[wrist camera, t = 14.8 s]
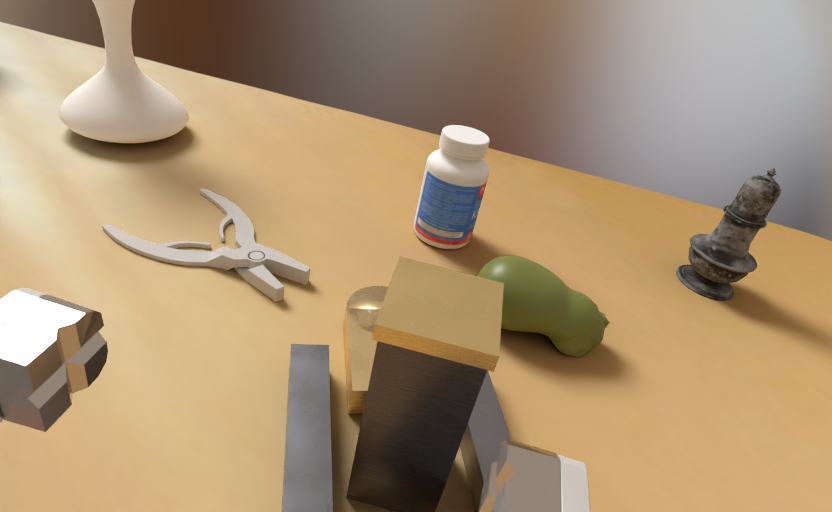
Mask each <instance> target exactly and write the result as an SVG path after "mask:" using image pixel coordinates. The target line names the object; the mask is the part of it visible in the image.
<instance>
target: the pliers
mask: <svg viewBox="0 0 832 512" xmlns="http://www.w3.org/2000/svg"><path fill="white" fill-rule="evenodd" d="M200 194H201V195H203V196H204V197H206V198H207V199H209V200H210V201H211V202H213V203H214V204H215V205H216V206H218V207H219V208H220V209H221V210H222V211H223V212H224V213H225V214H226V215H227V216H226V217H225V218H224V219H223V220H222V221H221V224H220V226H219V236H220V240H221V242H225V238H224V234H223V230H224V228H225V226H227V225H228V224H229V223H231V222H232V223H233V225H234V227H235V232H236V245H237V246H238V247H239V248H237V249H231V248H228V247H225V246H222V247H220V248H218V249H216V250H214V251H193V250H180V249H175V248H180V247H200V248H207V249H210V247H211V244H210V243H206V242H199V241H175V242H168V243H158V244H154V243H152V242H149V241H146V240H143V239H140V238H137V237H135V236H133V235H130V234H128V233H126V232H124V231H122V230H120V229H117V228H116V227H114V226H112V225H110V224H106V225H103V226H102V227H103V230H104V231H105V232H106V233H107V234H108V235H109V236H110V237H111V238H112V239H113V240H114V241H116V242H117V243H119V244H120V245H122V246H124V247H125V248H127V249H129V250H131V251H133V252H135V253H138V254H141V255H143V256H146V257H149V258H152V259H155V260H159V261H163V262H167V263H171V264H178V265H185V266H208V267H215V268H221V269H225V270H229V269H232V268H234V269H235V270H236V271H237V272H238V274H239V275H240V276H241V277H242V278H243V279H244V280H245V281H246V282H248V283H249V284H251V285H252V286H254V287H255V288H257V289H258V290H259V291H261V292H262V293H264V294H265V295H267V296H268V297H269V298H271V299H272V300H274V301H275V302H277V301H280V300H282V299H283V296H284V286H283V285H282V284H281V283H280V282H279V281H278V280H277V279H276V278H275V277H274V276H273V275H272V274H275V275H278V276H281V277H284V278H286V279H289V280H292V281H295V282H298V283H301V284H303V285H306V284H307V282H308V281H309V275H310V267H308V266H306V265H304V264H302V263H300V262H298V261H296V260H295V259H293V258H291V257H289V256H287V255H285V254H283V253H281V252H279V251H277V250H275V249H272V248H269V247H266V246H263V245H260V244H258V243H256V242H255V240H254V227H253V225H252V222H251V221H250V219H249V218H248V216H247V215H246V214H245V213H244V212H243V211H242V210H241V209H240V208H239V207H238V206H237V205H235V204H234V203H232V202H231V201H230V200H228V199H226V198H224V197H223V196H221V195H219V194H217V193H214V192H212V191H210V190H207V189H205V188H204V189H201V190H200ZM271 273H272V274H271Z"/></svg>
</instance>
